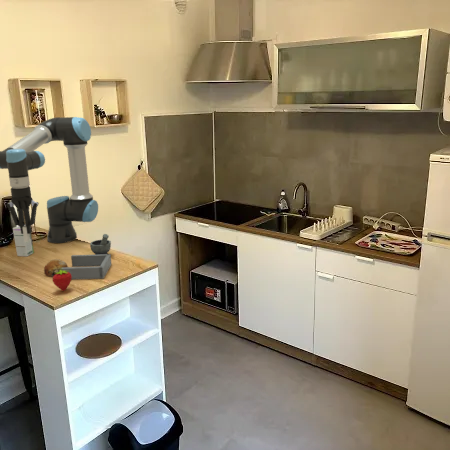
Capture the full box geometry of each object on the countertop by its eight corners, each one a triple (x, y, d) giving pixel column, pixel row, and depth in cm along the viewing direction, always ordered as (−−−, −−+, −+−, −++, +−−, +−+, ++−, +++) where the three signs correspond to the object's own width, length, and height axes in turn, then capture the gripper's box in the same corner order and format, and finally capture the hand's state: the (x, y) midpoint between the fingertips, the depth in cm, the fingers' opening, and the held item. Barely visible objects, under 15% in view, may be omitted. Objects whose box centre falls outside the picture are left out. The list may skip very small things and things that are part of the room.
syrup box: (27, 256, 223) (23, 228, 219) (16, 256, 224) (12, 227, 220) (34, 252, 228) (30, 224, 224) (23, 252, 229) (19, 224, 225)
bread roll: (71, 278, 206) (72, 260, 207) (60, 276, 196) (62, 258, 197) (49, 277, 207) (51, 259, 208) (38, 276, 197) (40, 257, 198)
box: (73, 265, 211) (71, 255, 209) (111, 264, 211) (110, 254, 210) (62, 279, 194) (60, 268, 193) (103, 278, 195) (102, 267, 194)
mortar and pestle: (87, 256, 222) (85, 232, 219) (104, 251, 229) (102, 228, 226) (100, 261, 215) (98, 237, 212) (117, 256, 222) (115, 232, 218)
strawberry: (51, 291, 183) (48, 268, 180) (68, 285, 188) (66, 263, 185) (58, 295, 179) (55, 271, 176) (76, 289, 184) (73, 266, 181)
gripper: (0, 188, 187) (8, 243, 193) (32, 188, 188) (39, 243, 194) (8, 185, 194) (15, 238, 201) (39, 184, 195) (45, 237, 201)
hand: (27, 240), depth 197 cm, fingers closed
